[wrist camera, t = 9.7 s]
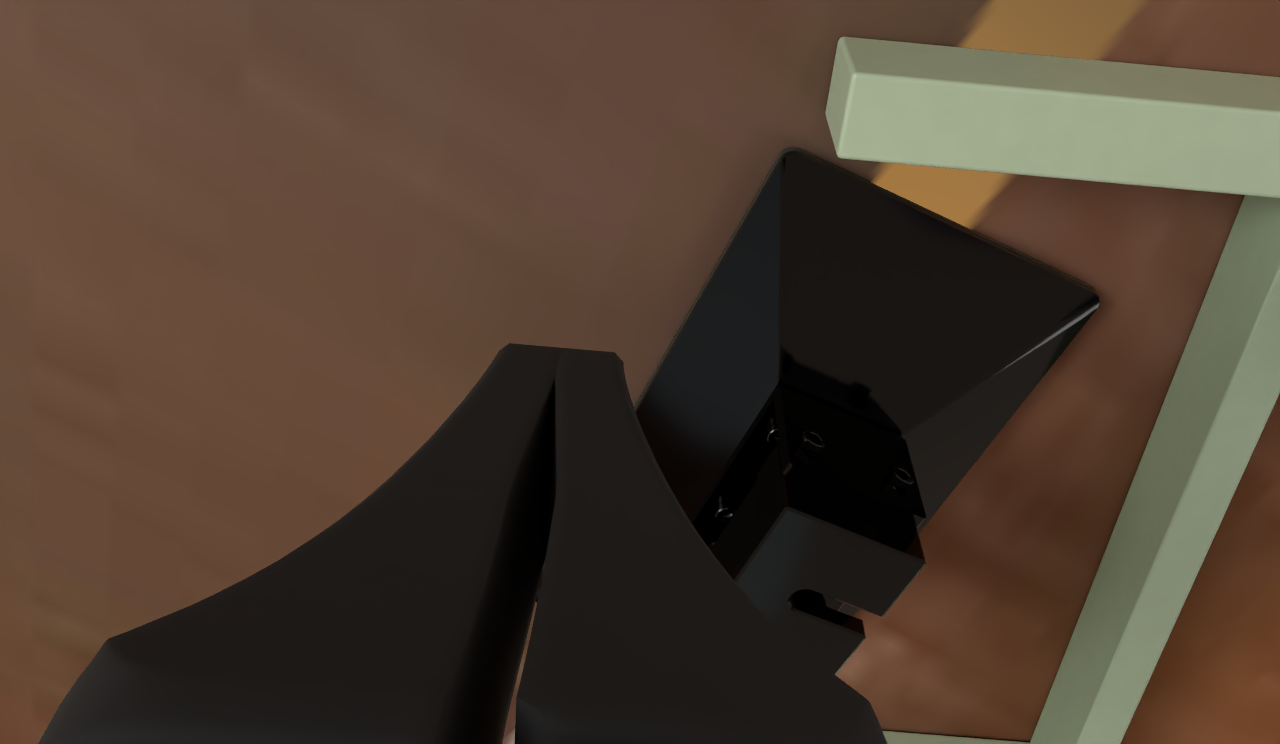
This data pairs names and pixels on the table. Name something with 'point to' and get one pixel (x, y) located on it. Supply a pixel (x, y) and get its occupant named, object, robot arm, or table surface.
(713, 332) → the build plate
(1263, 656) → the table surface
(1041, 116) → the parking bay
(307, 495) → the table surface
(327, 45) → the table surface
